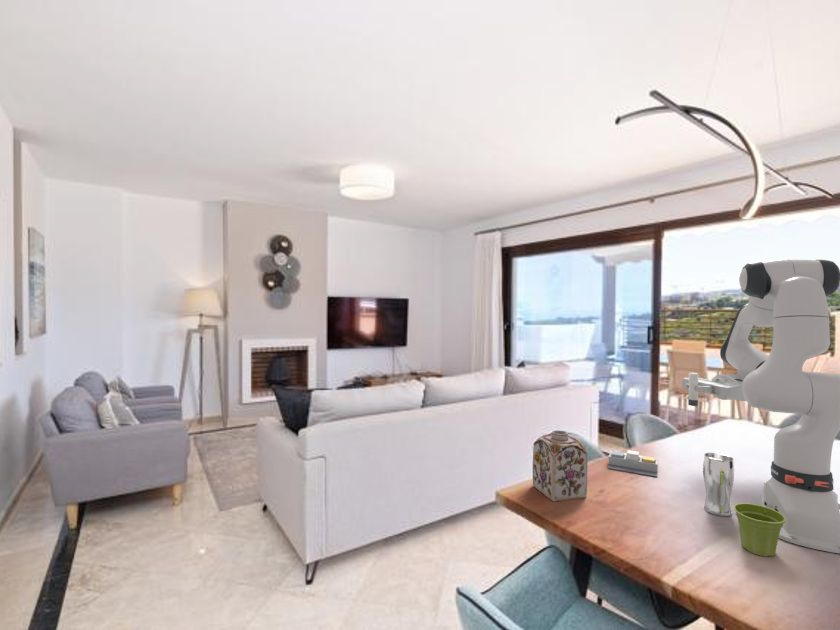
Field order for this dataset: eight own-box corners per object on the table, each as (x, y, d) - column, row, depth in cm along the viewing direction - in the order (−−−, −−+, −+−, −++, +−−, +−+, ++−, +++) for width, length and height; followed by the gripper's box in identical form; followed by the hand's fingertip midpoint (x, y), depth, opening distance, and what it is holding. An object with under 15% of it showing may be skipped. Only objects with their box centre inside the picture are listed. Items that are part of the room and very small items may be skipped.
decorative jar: (552, 502, 122) (553, 439, 122) (531, 486, 133) (532, 427, 133) (588, 498, 125) (589, 436, 125) (565, 482, 136) (566, 425, 136)
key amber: (654, 469, 145) (654, 460, 145) (642, 467, 147) (642, 458, 147) (654, 466, 149) (654, 457, 148) (642, 464, 150) (642, 455, 150)
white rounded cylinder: (698, 406, 147) (698, 374, 147) (688, 405, 148) (688, 373, 148) (697, 404, 149) (698, 373, 149) (688, 403, 151) (688, 372, 151)
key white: (638, 463, 148) (638, 454, 148) (626, 461, 149) (626, 453, 149) (638, 460, 151) (639, 451, 151) (627, 458, 153) (627, 450, 153)
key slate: (622, 464, 150) (623, 455, 150) (611, 462, 152) (611, 453, 152) (623, 461, 153) (623, 452, 153) (612, 459, 155) (612, 451, 155)
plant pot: (786, 567, 92) (787, 527, 92) (732, 551, 98) (732, 513, 98) (783, 548, 100) (784, 510, 100) (733, 534, 106) (734, 499, 105)
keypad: (657, 477, 141) (657, 468, 141) (607, 468, 148) (607, 459, 148) (657, 464, 152) (657, 456, 152) (611, 457, 160) (611, 449, 159)
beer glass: (703, 513, 116) (704, 458, 116) (700, 503, 122) (702, 450, 122) (735, 519, 113) (736, 462, 113) (730, 509, 119) (732, 454, 119)
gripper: (701, 373, 161) (668, 374, 159) (752, 382, 141) (716, 383, 139) (701, 390, 161) (668, 391, 159) (752, 402, 141) (715, 403, 139)
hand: (690, 387), depth 149 cm, fingers closed on white rounded cylinder, 3 cm apart
